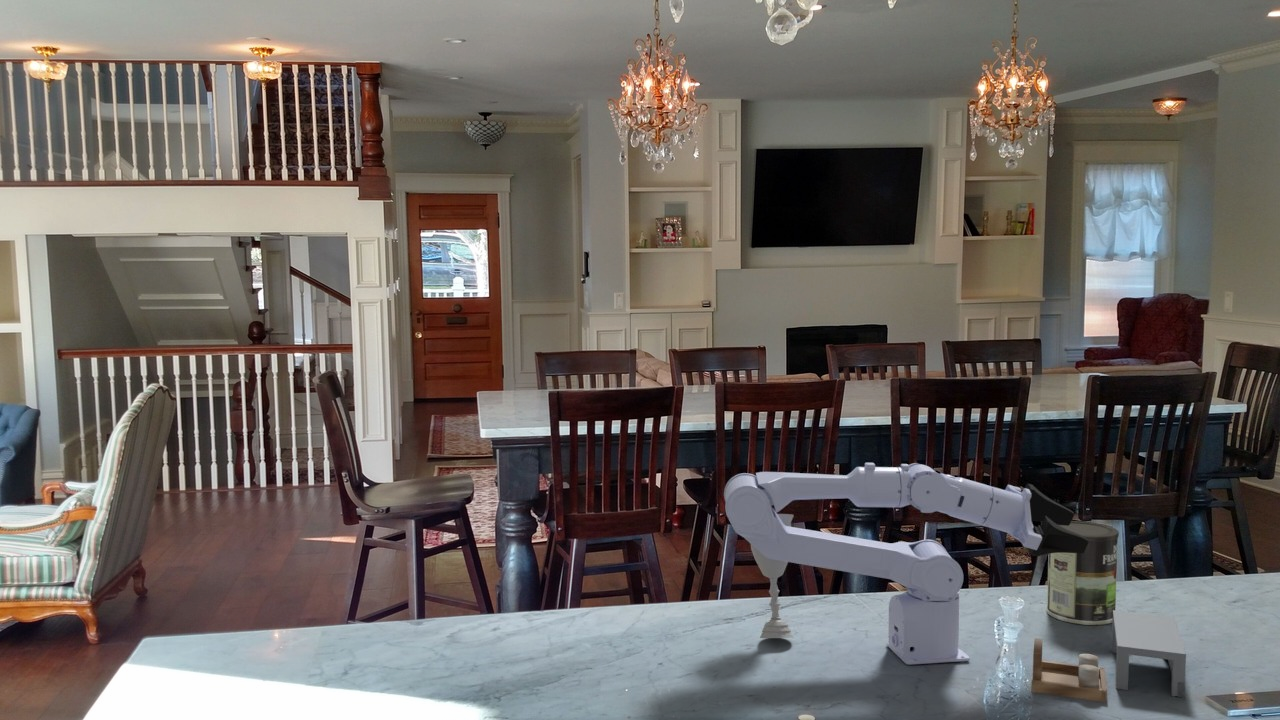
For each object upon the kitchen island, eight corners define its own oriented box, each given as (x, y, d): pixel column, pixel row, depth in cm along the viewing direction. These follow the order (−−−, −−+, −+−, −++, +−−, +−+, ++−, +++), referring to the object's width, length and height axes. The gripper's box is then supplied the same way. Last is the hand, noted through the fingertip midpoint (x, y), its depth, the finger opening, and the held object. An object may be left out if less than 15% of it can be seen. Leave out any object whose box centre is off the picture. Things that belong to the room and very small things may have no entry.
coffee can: (1122, 612, 165) (1125, 526, 164) (1107, 630, 157) (1109, 540, 155) (1056, 600, 171) (1058, 517, 170) (1037, 617, 163) (1039, 530, 162)
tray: (1031, 694, 135) (1032, 656, 134) (1033, 671, 142) (1034, 635, 142) (1106, 704, 131) (1107, 665, 131) (1104, 681, 139) (1105, 643, 138)
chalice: (800, 636, 156) (792, 517, 160) (802, 637, 149) (794, 513, 154) (752, 637, 156) (745, 519, 161) (752, 638, 150) (745, 515, 154)
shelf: (1116, 688, 135) (1117, 645, 135) (1111, 649, 149) (1112, 610, 149) (1184, 697, 132) (1186, 654, 132) (1173, 656, 146) (1174, 616, 146)
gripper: (1005, 506, 138) (1104, 535, 137) (986, 458, 151) (1076, 484, 151) (986, 549, 140) (1082, 577, 140) (968, 498, 154) (1057, 524, 153)
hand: (1078, 532), depth 145 cm, fingers open, 7 cm apart
